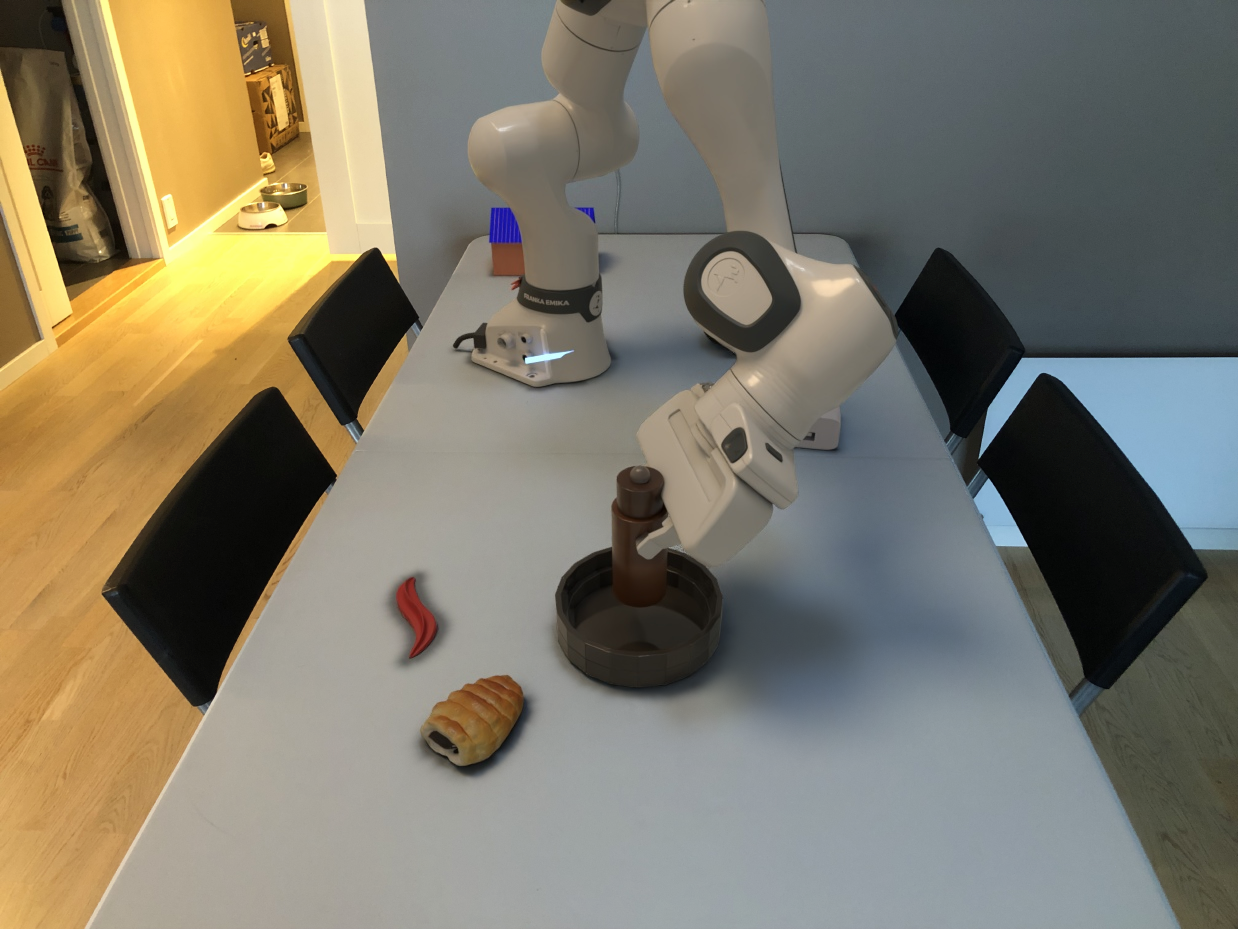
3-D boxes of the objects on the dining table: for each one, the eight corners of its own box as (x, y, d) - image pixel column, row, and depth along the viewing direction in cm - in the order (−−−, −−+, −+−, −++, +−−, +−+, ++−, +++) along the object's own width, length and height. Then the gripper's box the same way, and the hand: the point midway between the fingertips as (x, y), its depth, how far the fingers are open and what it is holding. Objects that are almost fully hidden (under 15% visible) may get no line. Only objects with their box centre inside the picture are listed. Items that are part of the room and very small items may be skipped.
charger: (835, 397, 127) (837, 451, 115) (772, 392, 128) (766, 444, 116) (839, 368, 124) (841, 419, 112) (774, 363, 126) (769, 413, 114)
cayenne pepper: (433, 656, 84) (430, 642, 83) (384, 659, 83) (381, 645, 82) (444, 576, 94) (442, 562, 93) (401, 578, 93) (398, 564, 92)
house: (593, 275, 170) (592, 216, 163) (491, 275, 170) (486, 216, 164) (596, 255, 180) (595, 198, 173) (500, 255, 180) (495, 198, 174)
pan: (526, 653, 84) (522, 619, 82) (607, 559, 96) (606, 527, 93) (676, 715, 77) (678, 680, 75) (744, 606, 89) (747, 573, 87)
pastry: (488, 676, 81) (485, 647, 79) (544, 708, 78) (542, 679, 76) (415, 743, 75) (409, 713, 73) (472, 781, 72) (468, 751, 70)
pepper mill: (603, 597, 83) (599, 473, 75) (628, 566, 87) (628, 446, 79) (651, 614, 81) (653, 489, 73) (675, 582, 85) (679, 460, 77)
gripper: (687, 356, 83) (589, 453, 87) (757, 470, 66) (632, 585, 70) (729, 392, 86) (633, 485, 90) (805, 510, 69) (684, 618, 73)
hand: (633, 530), depth 80 cm, fingers closed on pepper mill, 5 cm apart
